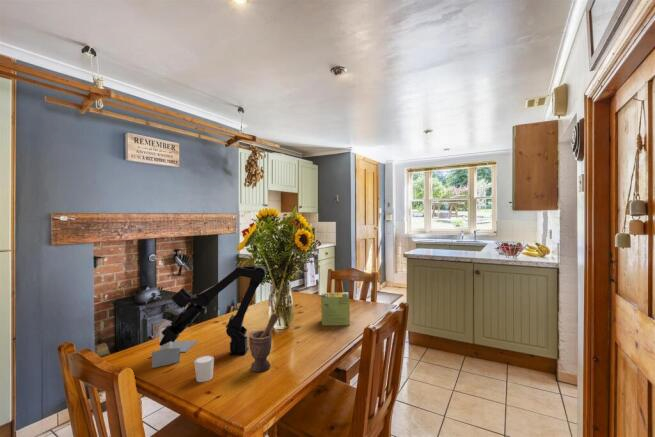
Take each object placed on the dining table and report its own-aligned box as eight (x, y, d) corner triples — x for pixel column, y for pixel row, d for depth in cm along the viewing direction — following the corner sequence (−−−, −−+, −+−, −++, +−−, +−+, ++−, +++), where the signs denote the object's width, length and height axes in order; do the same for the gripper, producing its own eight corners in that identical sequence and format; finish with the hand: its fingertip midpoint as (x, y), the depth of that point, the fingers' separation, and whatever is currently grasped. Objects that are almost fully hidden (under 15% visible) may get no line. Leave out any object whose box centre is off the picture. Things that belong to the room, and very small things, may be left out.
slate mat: (197, 341, 150) (197, 340, 150) (185, 352, 138) (185, 351, 138) (173, 341, 150) (173, 341, 150) (159, 352, 138) (159, 351, 138)
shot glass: (193, 384, 111) (192, 364, 111) (195, 375, 117) (195, 356, 117) (213, 381, 113) (213, 361, 113) (215, 372, 119) (214, 354, 119)
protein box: (350, 325, 168) (349, 296, 168) (321, 325, 168) (321, 297, 168) (349, 319, 178) (348, 292, 178) (322, 319, 179) (321, 292, 179)
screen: (179, 360, 130) (179, 346, 130) (179, 362, 128) (179, 347, 128) (152, 366, 125) (151, 351, 125) (152, 368, 124) (151, 352, 124)
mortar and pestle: (266, 358, 131) (265, 310, 131) (282, 363, 126) (281, 313, 126) (245, 369, 121) (244, 318, 121) (261, 375, 116) (259, 321, 116)
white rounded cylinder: (171, 354, 136) (171, 326, 136) (172, 358, 132) (171, 330, 132) (160, 356, 134) (159, 328, 134) (159, 361, 130) (159, 332, 130)
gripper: (181, 297, 143) (156, 322, 141) (166, 308, 124) (137, 338, 123) (200, 313, 144) (175, 338, 142) (187, 327, 125) (159, 356, 124)
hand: (162, 342), depth 133 cm, fingers closed on white rounded cylinder, 5 cm apart
